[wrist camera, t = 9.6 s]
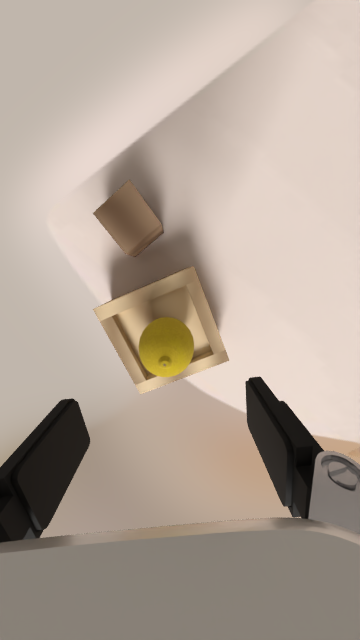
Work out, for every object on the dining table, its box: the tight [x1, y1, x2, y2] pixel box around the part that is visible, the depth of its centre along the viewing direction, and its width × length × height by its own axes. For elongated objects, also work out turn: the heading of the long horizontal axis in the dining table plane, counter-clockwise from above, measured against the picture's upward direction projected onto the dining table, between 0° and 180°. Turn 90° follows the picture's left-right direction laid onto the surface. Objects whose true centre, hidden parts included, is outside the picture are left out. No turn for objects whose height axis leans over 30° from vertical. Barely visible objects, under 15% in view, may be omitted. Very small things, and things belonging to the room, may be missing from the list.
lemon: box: [139, 317, 194, 377], centre depth 19 cm, size 6×6×8 cm
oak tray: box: [93, 266, 229, 394], centre depth 24 cm, size 12×12×6 cm
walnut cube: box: [93, 179, 164, 257], centre depth 21 cm, size 5×5×5 cm
